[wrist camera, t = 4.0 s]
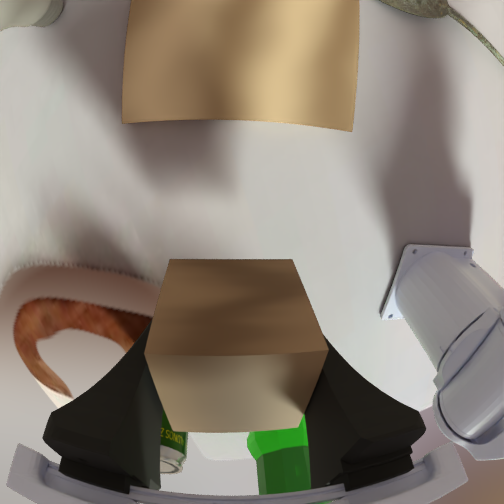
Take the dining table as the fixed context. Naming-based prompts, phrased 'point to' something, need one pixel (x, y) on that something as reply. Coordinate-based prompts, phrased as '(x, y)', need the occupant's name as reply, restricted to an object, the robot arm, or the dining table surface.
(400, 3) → the soupspoon
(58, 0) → the lightbulb
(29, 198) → the dining table surface
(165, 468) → the beer can
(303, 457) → the plastic bottle
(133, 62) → the oak board
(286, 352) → the tan cube
